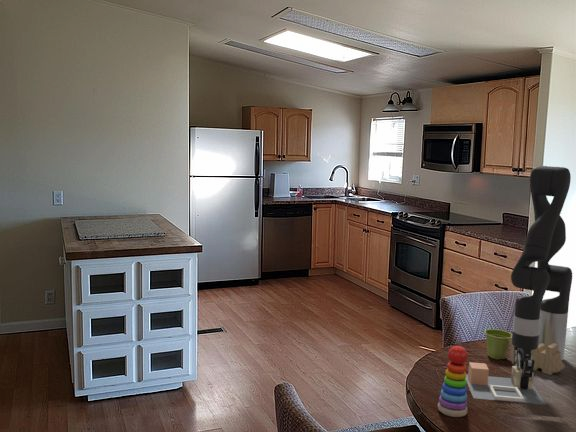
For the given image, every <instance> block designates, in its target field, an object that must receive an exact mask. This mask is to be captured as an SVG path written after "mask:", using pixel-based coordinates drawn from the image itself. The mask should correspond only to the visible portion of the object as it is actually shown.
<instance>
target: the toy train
mask: <svg viewBox="0 0 576 432" xmlns="http://www.w3.org/2000/svg"><path fill="white" fill-rule="evenodd" d="M508 341H509V345H510V349H509V359H510V360H511V363H512V364H513V365H514V346H513V345H512V337H510V338H508ZM558 346H559V344H555V343H553V344H551V345H549V346H548V347H546V345H545V344H543V343H542V344H540V345H538V348H537V349H534V350H532V351H531V354H532V360H534V361H535V363H534V368H533V371H538V370H539V369H541V372H542V374H543V373H544V374H545V375H546V374H547V375H550V376H552V375H553V374H555V373H559V372H560V371H562V370H564V369H565V368H566V366H565V364H564V363H563V361H561V352H560V351H558Z"/></svg>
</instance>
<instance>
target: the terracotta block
mask: <svg viewBox="0 0 576 432" xmlns="http://www.w3.org/2000/svg"><path fill="white" fill-rule="evenodd" d="M489 370H490V369H489V367H488V366H487V364H486V363H484V362H483V363H482V362H471V361H469V362H468V372H467V374H468V379H469V381H470V383H471V384H478V385H488V376H489V372H490V371H489Z"/></svg>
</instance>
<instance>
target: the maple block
mask: <svg viewBox="0 0 576 432" xmlns="http://www.w3.org/2000/svg"><path fill="white" fill-rule="evenodd" d="M526 373H527V371H526ZM510 378H511V382H512V384H513V385H514V387H517V388H521V387H520V380H521V369H520V368H519V366H515V365H512V366H511V375H510ZM533 384H534V372H533V374H532V378H529V384H528V389H532V387H533V386H534V385H533Z"/></svg>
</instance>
